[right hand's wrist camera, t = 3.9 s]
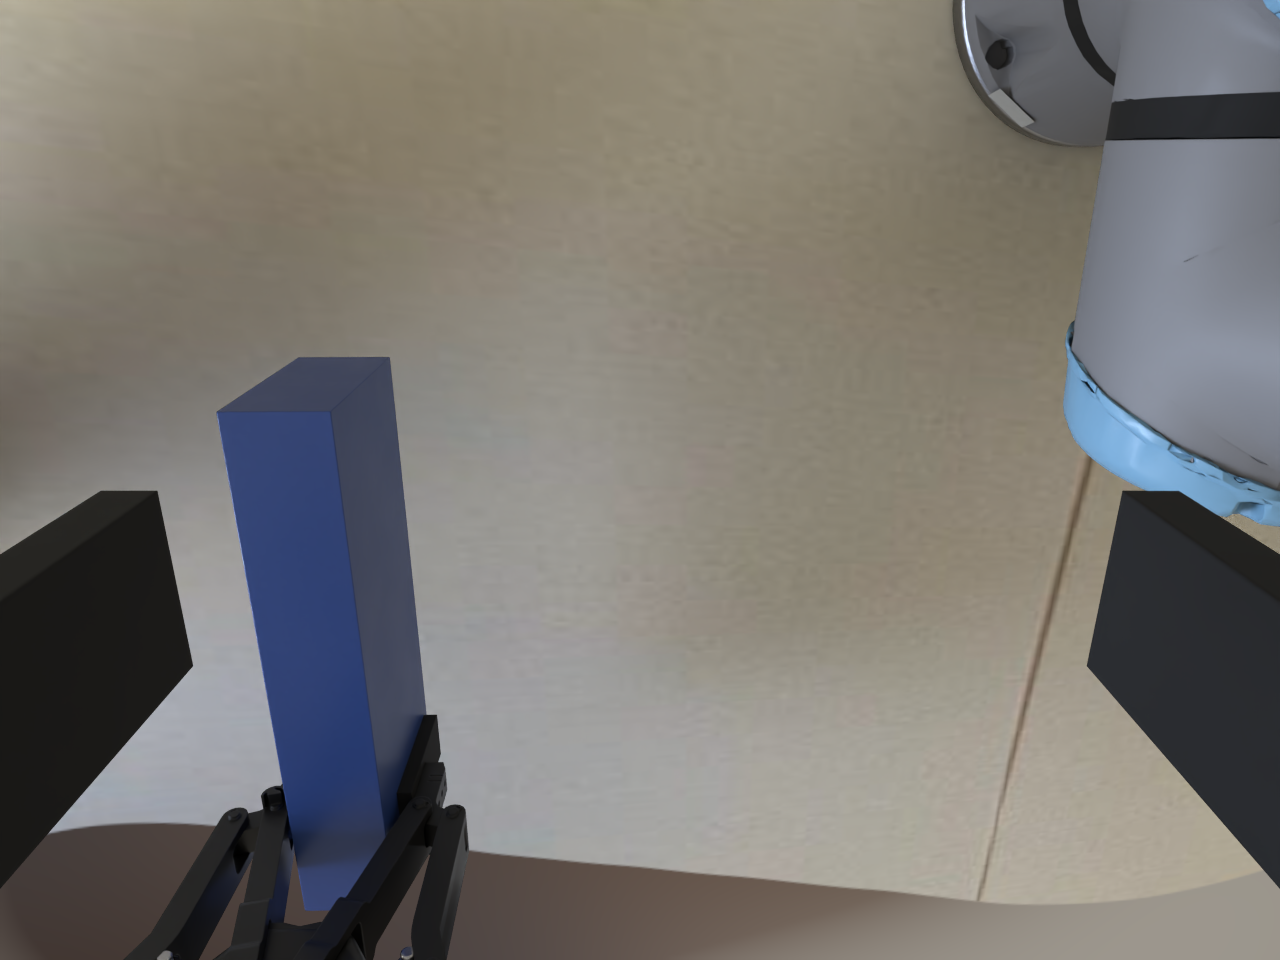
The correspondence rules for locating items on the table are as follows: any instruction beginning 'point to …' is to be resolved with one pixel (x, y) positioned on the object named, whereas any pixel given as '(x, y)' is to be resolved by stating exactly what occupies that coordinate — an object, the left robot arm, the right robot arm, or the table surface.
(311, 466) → the bar
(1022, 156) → the table surface
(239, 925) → the left robot arm
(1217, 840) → the table surface
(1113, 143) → the right robot arm
